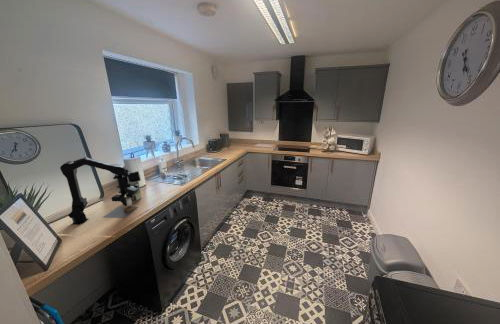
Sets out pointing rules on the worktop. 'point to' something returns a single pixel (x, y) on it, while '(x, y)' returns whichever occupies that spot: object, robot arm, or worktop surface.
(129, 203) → the cap
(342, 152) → the worktop surface
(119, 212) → the board
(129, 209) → the base
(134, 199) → the coffee can
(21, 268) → the worktop surface
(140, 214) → the worktop surface
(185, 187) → the worktop surface
